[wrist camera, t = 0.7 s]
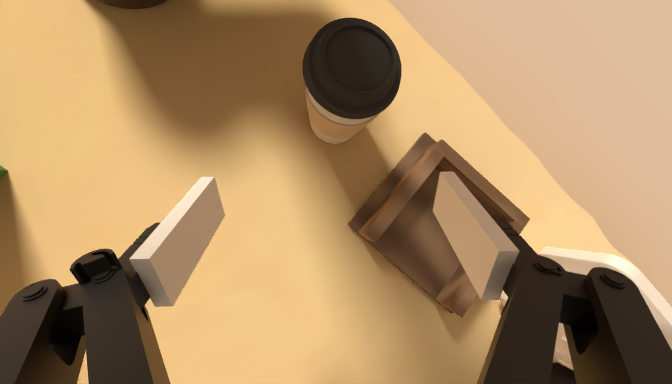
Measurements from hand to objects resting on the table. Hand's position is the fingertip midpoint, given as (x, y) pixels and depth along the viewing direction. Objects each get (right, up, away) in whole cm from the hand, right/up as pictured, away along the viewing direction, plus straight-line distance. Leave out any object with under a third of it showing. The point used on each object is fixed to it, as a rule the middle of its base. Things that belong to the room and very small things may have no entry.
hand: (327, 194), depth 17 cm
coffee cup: (0, +10, +21) cm, 23 cm away
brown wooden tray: (+14, -4, +22) cm, 26 cm away
